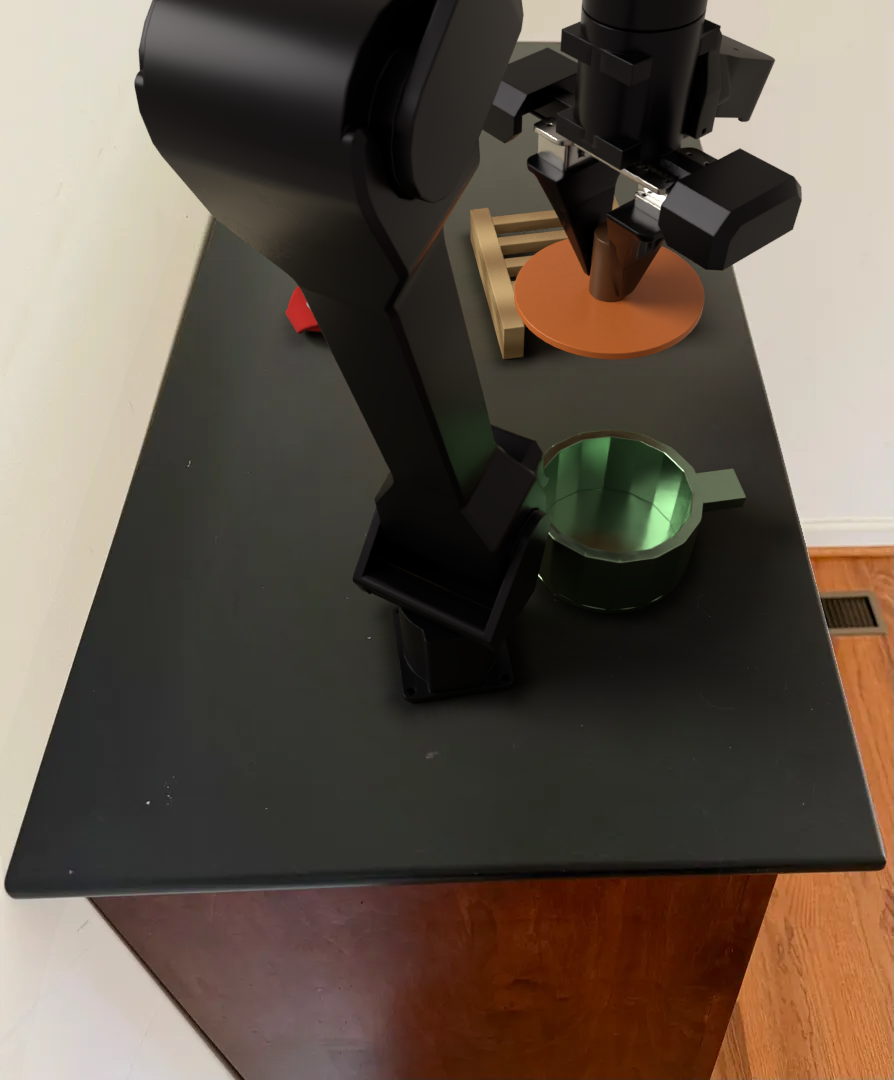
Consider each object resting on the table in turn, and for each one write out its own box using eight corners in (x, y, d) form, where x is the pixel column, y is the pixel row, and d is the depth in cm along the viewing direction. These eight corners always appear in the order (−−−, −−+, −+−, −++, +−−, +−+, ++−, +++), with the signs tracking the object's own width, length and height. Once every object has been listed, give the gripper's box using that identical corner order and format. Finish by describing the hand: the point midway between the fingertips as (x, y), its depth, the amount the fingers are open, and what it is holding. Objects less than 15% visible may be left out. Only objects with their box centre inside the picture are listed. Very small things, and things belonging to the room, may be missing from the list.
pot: (750, 595, 56) (773, 541, 52) (499, 630, 55) (501, 578, 51) (698, 472, 63) (714, 414, 58) (472, 502, 62) (471, 446, 57)
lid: (726, 355, 53) (746, 282, 49) (532, 378, 52) (536, 307, 48) (671, 239, 60) (684, 167, 55) (499, 259, 59) (500, 187, 55)
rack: (661, 340, 71) (667, 309, 69) (503, 359, 70) (503, 329, 68) (610, 224, 81) (614, 193, 78) (470, 240, 80) (470, 209, 78)
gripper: (925, 18, 40) (822, 303, 53) (627, -96, 50) (599, 170, 62) (755, 103, 36) (687, 389, 49) (466, -38, 46) (472, 233, 58)
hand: (608, 283), depth 55 cm, fingers closed on lid, 2 cm apart
